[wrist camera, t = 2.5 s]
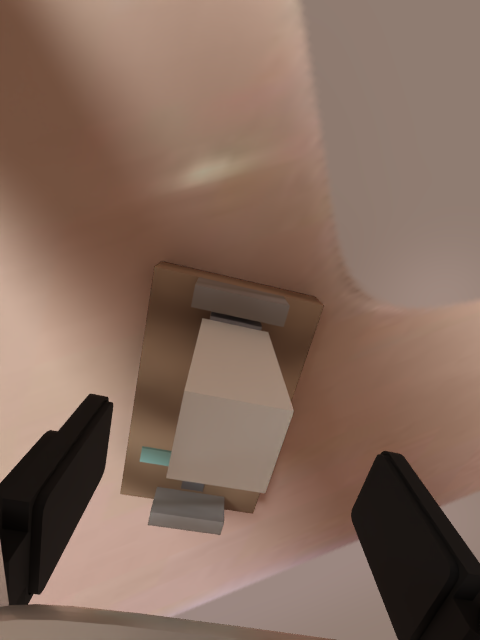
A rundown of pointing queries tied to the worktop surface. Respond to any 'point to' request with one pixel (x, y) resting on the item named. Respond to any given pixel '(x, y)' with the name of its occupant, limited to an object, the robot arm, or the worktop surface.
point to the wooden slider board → (171, 376)
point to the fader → (231, 408)
